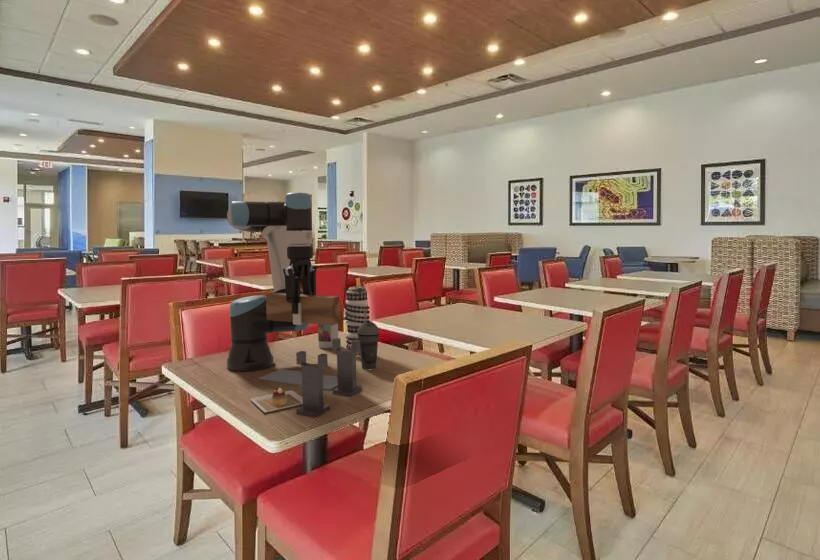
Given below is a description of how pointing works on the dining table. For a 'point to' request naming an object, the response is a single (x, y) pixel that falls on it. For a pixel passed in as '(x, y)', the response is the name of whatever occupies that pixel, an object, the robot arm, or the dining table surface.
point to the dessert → (278, 399)
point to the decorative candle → (355, 313)
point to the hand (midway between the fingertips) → (302, 322)
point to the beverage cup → (368, 343)
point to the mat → (298, 378)
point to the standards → (314, 378)
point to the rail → (304, 308)
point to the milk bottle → (327, 335)
